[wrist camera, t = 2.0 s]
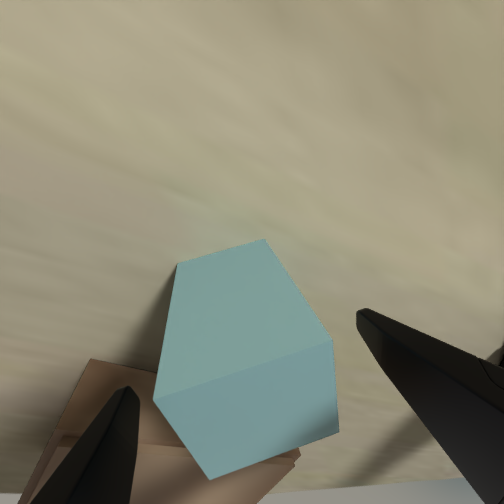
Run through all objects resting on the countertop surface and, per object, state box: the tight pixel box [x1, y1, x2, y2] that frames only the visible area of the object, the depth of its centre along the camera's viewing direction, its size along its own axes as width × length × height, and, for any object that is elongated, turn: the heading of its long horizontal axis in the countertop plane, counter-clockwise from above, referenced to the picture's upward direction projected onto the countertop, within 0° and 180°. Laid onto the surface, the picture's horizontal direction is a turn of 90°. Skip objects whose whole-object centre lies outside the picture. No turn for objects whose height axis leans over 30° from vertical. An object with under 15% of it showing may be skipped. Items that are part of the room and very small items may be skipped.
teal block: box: [153, 239, 339, 480], centre depth 10 cm, size 5×5×7 cm
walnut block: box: [18, 359, 301, 504], centre depth 15 cm, size 14×9×4 cm, turn 57°
